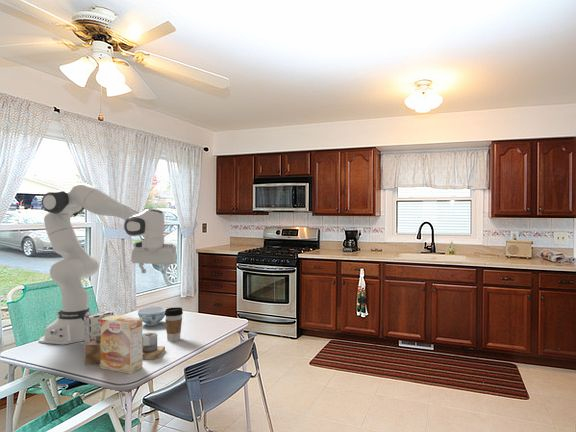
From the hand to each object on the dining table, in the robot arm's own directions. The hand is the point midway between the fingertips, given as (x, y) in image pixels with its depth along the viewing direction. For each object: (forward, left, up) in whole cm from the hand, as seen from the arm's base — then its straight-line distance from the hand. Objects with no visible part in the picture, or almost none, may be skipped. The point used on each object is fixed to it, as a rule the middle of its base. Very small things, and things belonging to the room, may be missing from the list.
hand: (153, 273), depth 178 cm
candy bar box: (-20, -10, -33) cm, 40 cm away
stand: (-14, -22, -33) cm, 42 cm away
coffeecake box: (-2, -29, -33) cm, 44 cm away
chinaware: (-12, +31, -33) cm, 47 cm away
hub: (+4, -14, -33) cm, 36 cm away
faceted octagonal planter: (+4, -15, -28) cm, 31 cm away
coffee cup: (+8, +6, -33) cm, 34 cm away
